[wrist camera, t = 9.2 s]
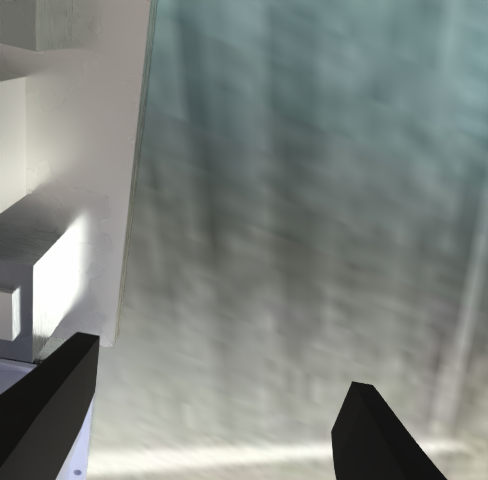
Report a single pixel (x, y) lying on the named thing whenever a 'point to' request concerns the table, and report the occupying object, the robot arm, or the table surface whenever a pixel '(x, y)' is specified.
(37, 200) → the board
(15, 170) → the block
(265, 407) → the table surface
